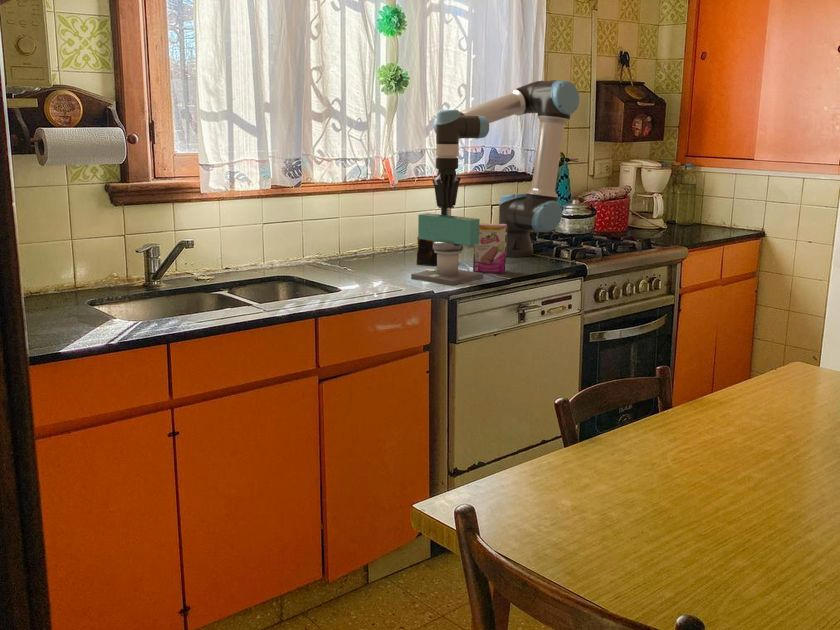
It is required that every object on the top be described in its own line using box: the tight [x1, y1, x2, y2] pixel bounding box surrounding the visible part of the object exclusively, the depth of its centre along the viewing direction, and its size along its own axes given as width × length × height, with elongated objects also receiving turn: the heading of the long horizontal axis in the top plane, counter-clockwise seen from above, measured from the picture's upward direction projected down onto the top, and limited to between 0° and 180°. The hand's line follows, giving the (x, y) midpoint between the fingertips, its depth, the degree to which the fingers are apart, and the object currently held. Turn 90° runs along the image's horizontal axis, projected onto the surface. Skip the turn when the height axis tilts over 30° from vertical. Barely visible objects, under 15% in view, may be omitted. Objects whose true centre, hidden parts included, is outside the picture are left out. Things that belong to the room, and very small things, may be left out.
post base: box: [410, 250, 484, 287], centre depth 277 cm, size 17×17×10 cm
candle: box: [416, 236, 437, 267], centre depth 303 cm, size 10×10×10 cm
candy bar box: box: [472, 222, 507, 274], centre depth 287 cm, size 11×5×16 cm, turn 84°
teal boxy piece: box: [417, 212, 481, 251], centre depth 275 cm, size 10×21×10 cm, turn 51°
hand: (445, 227), depth 287 cm, fingers closed
